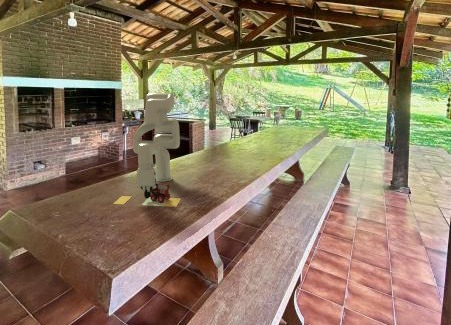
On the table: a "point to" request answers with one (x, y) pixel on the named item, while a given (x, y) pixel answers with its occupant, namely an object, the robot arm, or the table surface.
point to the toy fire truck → (160, 193)
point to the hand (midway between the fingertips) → (147, 197)
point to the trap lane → (170, 202)
